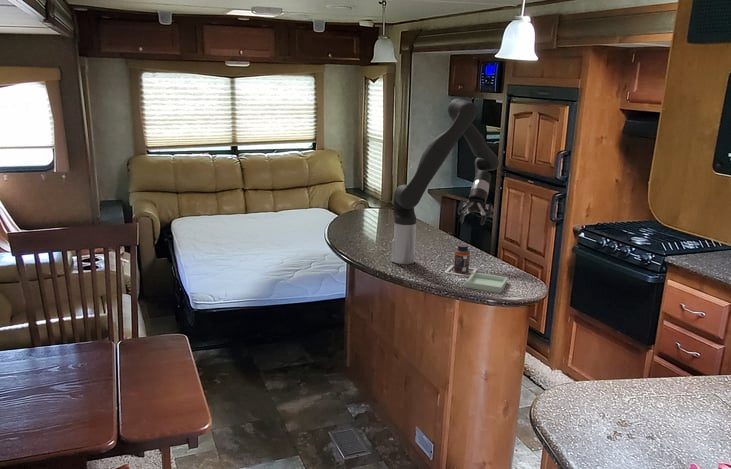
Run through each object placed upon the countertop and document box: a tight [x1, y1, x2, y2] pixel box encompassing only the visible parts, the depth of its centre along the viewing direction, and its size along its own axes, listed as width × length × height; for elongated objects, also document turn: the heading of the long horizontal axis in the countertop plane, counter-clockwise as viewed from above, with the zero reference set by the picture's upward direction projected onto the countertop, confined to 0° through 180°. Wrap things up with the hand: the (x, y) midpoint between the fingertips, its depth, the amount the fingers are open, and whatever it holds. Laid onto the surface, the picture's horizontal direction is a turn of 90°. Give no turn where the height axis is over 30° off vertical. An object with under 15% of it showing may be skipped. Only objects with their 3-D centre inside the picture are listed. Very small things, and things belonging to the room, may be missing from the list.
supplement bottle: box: [453, 243, 471, 274], centre depth 235 cm, size 6×6×11 cm
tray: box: [464, 271, 509, 294], centre depth 220 cm, size 14×14×2 cm
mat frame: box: [443, 264, 479, 278], centre depth 236 cm, size 11×11×1 cm
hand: (471, 223), depth 243 cm, fingers open, 8 cm apart
